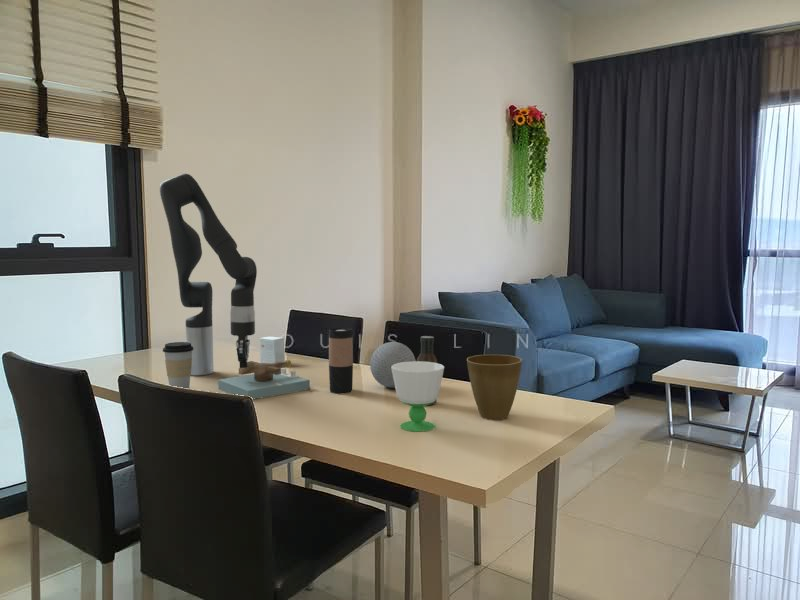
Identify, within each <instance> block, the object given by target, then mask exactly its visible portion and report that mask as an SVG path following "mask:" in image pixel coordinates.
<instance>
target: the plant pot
mask: <svg viewBox="0 0 800 600" xmlns="http://www.w3.org/2000/svg"><path fill="white" fill-rule="evenodd" d="M466 363H467V364H466V365H467V366H466V367H467V370H468V376H469V382H470V387H471V391H472V394H473V397H474V400H475V405H476V407H477V410H478V412H479V415H480V417H481V418H482V419H485V418H486V419H485V420H490V419H491V420H493V421H498V420H499V419H501V420H505V419H507V418H508V417H509V415H510V412H511V409H512V406H513V405H514V401H515V397H516V394H517V389H518V385H519V383H520V376H521V372H522V371H521V370H522V363H523V359H522V358H521V357H519V356H515V355H509V354H478V355H477V354H476V355H473V356H468V357H467V358H466ZM499 421H500V420H499Z"/></svg>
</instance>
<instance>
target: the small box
mask: <svg viewBox="0 0 800 600" xmlns="http://www.w3.org/2000/svg"><path fill="white" fill-rule="evenodd" d="M285 354H286V353H285V337H278V336H264V337H259V358H260V361H259V363H275V362H281V361H285V360H286V358H285Z"/></svg>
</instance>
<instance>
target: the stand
mask: <svg viewBox="0 0 800 600" xmlns="http://www.w3.org/2000/svg"><path fill="white" fill-rule="evenodd" d="M310 381H311V380H310V379H308V378H305V377H301V376H297V371H296V370H291V371H290V373H288V372H287V368H286V367H285V368H281V374H278V375H275V374H273V379H272V380H269V381H256V380H254V373H251V374H244V375H241V376H234V377H227V378H221V379H218V380H217V388H218V390H221V391H223V392H225V393H228V394H230V393H231V394H230V395H233V394H238V395H244V396H250V397H252V398H253V399H254V398H259V399H262V398H261V397H265V398H268V397H267V396H270V397H274V396H273V395H275V396H280V395H279V394H281V395H285V394H284V393H286V394H291V393H297V392H300V391H301V390H302V391H306V390H307V391H308V390H310V388H311V386H310ZM296 391H297V392H296ZM290 392H291V393H290ZM254 400H255V399H254Z"/></svg>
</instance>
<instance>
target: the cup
mask: <svg viewBox="0 0 800 600" xmlns="http://www.w3.org/2000/svg"><path fill="white" fill-rule="evenodd" d="M391 369H392V374H393V379H394V384H395V388H394V389H395V394H396V397H397V398H398V400H399V401H400V402H401V403H402V404H405V405H407V406H409V407H410V408H409V411H408V417H409V419H410V420H409V421H405V422H402V423H400V425H399V427H400V428H401V429H402V430H404V431H408V432H414V433H415V432H416V433H417V432H419V433H421V432H422V431H423V432H428V431H432V430H434V429H435V428H436V425H435V424H434V423H433V422H431V421H426V420H425V419H426V416H427V410H426V409H425V407H426V406H430V405H429V404H431V403H433V402H434V401H436V399H437V400H438V397H439V394H440V391H441V385H442V380H443V376H444V372H445V371H444V370H445V366H444V365H443V364H441V363H439V362H438V363H433V362H422V361H417V360H415V361H412V362H401V363H397V364H393V365H392V367H391ZM433 428H434V429H433Z"/></svg>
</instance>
